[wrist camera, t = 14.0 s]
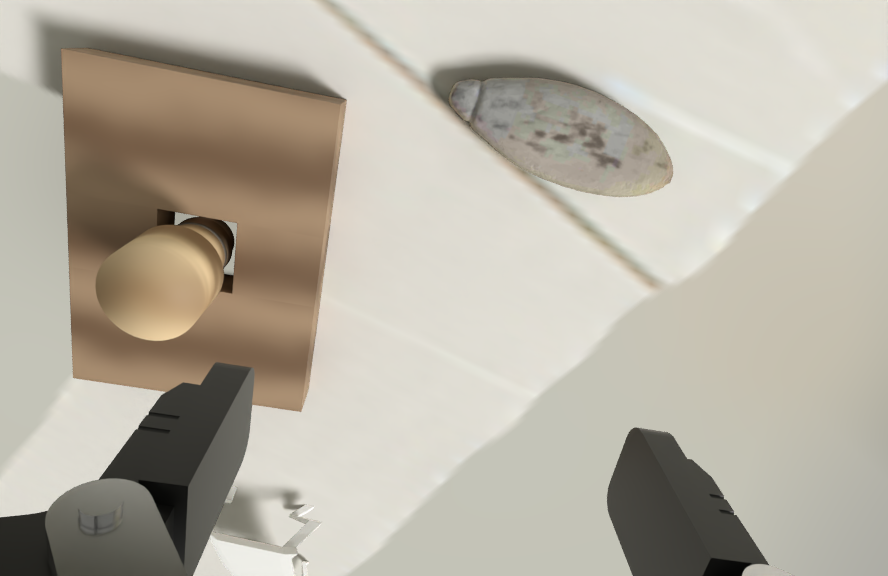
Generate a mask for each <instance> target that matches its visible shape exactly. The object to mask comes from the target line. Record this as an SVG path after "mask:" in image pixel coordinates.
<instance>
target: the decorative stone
mask: <svg viewBox="0 0 888 576" xmlns="http://www.w3.org/2000/svg"><path fill="white" fill-rule="evenodd" d="M448 100H449V103H450V106H451V107H452V108H453V109H454V110H455V111H456V113H457V114H458V115H459V116H460V117H461V118H462V119H464V120H465V121H469V122H470V124H471V128H472V129H473V130H475V131H476V132H477V133H478V134H479V135H480V136H481V137H483V138H484V139H485V140H486V141H487V142H488V143H489V144H490V145H491V146H492V147H493V148H494V149H495V150H497V151H498V152H499V153H501V154H502V155H503V156H504V157H506V158H507V159H508V160H510V161H511V162H512V163H514V164H515V165H517V166H518V167H520V168H521V169H524V170H526V171H528V172H530V173H532V174H534V175H536V176H538V177H540V178H542V179H545V180H547V181H550V182H553V183H556V184H559V185H561V186H564V187H568V188H571V189H575V190H577V191H582V192H586V193H592V194H597V195H604V196H613V197H632V196H640V195H645V194H648V193H652V192H654V191H656V190H659V189H661V188H663V187H664V186H665V185H666V184H668V183H670V181H671V178H672V176H673V165H672V162H671V159H670V157H669V155H668V152H667V150H666V148H665V147H664V145H663V143H662V142H661V140H660V138H659V136H658V135H657V134H656V133H655V132H654V131H653V130H652V129H651V128H650V127H649V126H648V125H647V124H646V123H645V122H644V121H643V120H641V119H640V118H639V117H638V116H637V115H635V114H634V113H632V112H631V111H629V110H628V109H626V108H625V107H623V106H621V105H620V104H618V103H616V102H615V101H613V100H611V99H609V98H607V97H605V96H603V95H601V94H599V93H597V92H594V91H591V90H588V89H586V88H583V87H581V86H577V85H574V84H570V83H566V82H560V81H556V80H550V79H541V78H490V79H487V80H485V81H479V80H476V79H468V80H464V81H459V82H457V83H456V84H454V86H453V87H452V90H451V92H450V95H449V99H448Z"/></svg>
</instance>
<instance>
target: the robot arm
mask: <svg viewBox="0 0 888 576" xmlns="http://www.w3.org/2000/svg"><path fill="white" fill-rule="evenodd" d="M254 377H255V373H254V368H252V367H246V366H239V365H233V364H226V363H220V362H216V363H215V364H214V365H213V366H212V368H211V369H210V371H209V372H208V374H207V375H206V377H205V379H204V380H203V382H202V383H201V385H198V384H191V383H184V382H183V383H181V384H179V385H178V386H176V387H174V388H173V389H171V390H169V391H168V392H166V393H164V394H163V395H161V397H160V398H159V399H158V401H157V402H156V403H155V405H154V406H153V407H152V409H151V410H150V411H149V415H146V417H145V418H144V419H143V421H142V422H141V423H140V425H139V428H138V430H137V429H136V430H135V431H134V433H133V434H132V436H131V437H130V438H129V440H128V441H127V442H126V444H125V445H124V446H123V448H122V449H121V450H120V452H119V453H118V454H117V456H116V457H115V458H114V460H113V461H112V462H111V464H110V465H109V466H108V468H107V469H106V470H105V472H104V473H103V475H102V476H101V477H100V479H99V480H95V481H91V482H87V483H84V484H81V485H79V486H77V487H74V488H72V489H71V490H69V491H67V492H66V493H64V494H63V495H61V496H60V497H59V498H58V499H57V500H56V501H55V502H54V503H53V504H52V505H51V507H50V508H49V510H48V511H45V512H41V513H35V514H29V515H20V516H10V517H0V576H193V574H194V572H195V569H196V567H197V565H198V562H199V560H200V558H201V556H202V553H203V551H204V549H205V546H206V544H207V542H208V539H209V537H210V535H211V533H212V530H213V528H214V526H215V523H216V521H217V519H218V516H219V514H220V512H221V510H222V507H223V505H224V503H225V500H226V498H227V496H228V493H229V491H230V489H231V487H232V484H233V482H234V480H235V477H236V475H237V473H238V470H239V468H240V466H241V463H242V461H243V458H244V455H245V451H246V447H247V443H248V438H249V431H250V421H251V410H252V399H253V388H254ZM607 505H608V512H609V515H610V518H611V520H612V523H613V526H614V528H615V531H616V534H617V536H618V539H619V541H620V544H621V546H622V549H623V552H624V554H625V557H626V559H627V562H628V564H629V567H630V570H631V572H632V575H633V576H793V575H792V574H790V573H788V572H786V571H784V570H782V569H779V568H777V567H773V566H770V565H769V564H768V563H767V561H766V560H765V558H764V556H763V555H762V553H761V552H760V550H759V549H758V547H757V546H756V544H755V543H754V541H753V540H752V538H751V537H750V535H749V533H748V532H747V531H746V529H745V528H744V526H743V524H742V523H741V521H740V520H739V518H738V517H737V515H734V511H733V509H732V508H731V506H730V505H729V503H728V502H727V500H724V495H723V494H722V493H721V491H720V489H719V488H718V486H717V485H716V484H715V482H714V480H713V479H712V477H711V476H710V475H708V474H707V473H706V472H705V471H704V470H703V469H702V468H700V466H698V465H697V464H696V463H695V462H694V461H693V460H690V459H687V458H686V457H685V455H684V453H683V452H682V450H681V448H680V447H679V445H678V444H677V442H676V440H675V439H674V437H673V436H672V435H671V434H670V433H668V432H661V431H655V430H648V429H642V428H633V429H632V430H631V431H630V432H629V434H628V436H627V438H626V441H625V444H624V446H623V449H622V452H621V454H620V457H619V459H618V462H617V465H616V468H615V470H614V473H613V476H612V478H611V481H610V484H609V488H608V494H607Z"/></svg>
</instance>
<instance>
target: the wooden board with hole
mask: <svg viewBox="0 0 888 576" xmlns="http://www.w3.org/2000/svg"><path fill="white" fill-rule="evenodd" d="M61 59H62V86H63V114H64V140H65V168H66V196H67V224H68V251H69V277H70V278H69V279H70V305H71V333H72V357H73V359H72V360H73V378H77V379H84V380H90V381H97V382H104V383H111V384H117V385H124V386H131V387H138V388H144V389H151V390H158V391H165V392H168V391H169V390H171V389H173V388H174V387H176V386H178V385H179V384H181V383H183V382H184V383H191V384H198V385H201V383H202V382H203V380H204V379H205V377H206V375H207V374H208V372H209V371H210V369H211V368H212V366H213V365H214V364H215V363H216V362H220V363H226V364H233V365H239V366H246V367H252V368H254V373H255V377H254V388H253V399H252V405H259V406H266V407H273V408H279V409H286V410H293V411H300V412H301V410H302V407H303V404H304V401H305V398H306V395H307V392H308V389H309V382H310V374H311V366H312V359H313V351H314V344H315V336H316V329H317V321H318V313H319V306H320V298H321V291H322V283H323V275H324V268H325V260H326V253H327V245H328V238H329V230H330V222H331V215H332V207H333V200H334V192H335V185H336V177H337V169H338V162H339V154H340V147H341V139H342V132H343V124H344V116H345V109H346V101H347V100H345V99H340V98H335V97H330V96H325V95H320V94H315V93H310V92H305V91H300V90H295V89H290V88H285V87H280V86H275V85H270V84H265V83H260V82H255V81H250V80H245V79H240V78H235V77H230V76H225V75H220V74H215V73H210V72H205V71H200V70H195V69H190V68H185V67H180V66H175V65H170V64H166V63H161V62H156V61H151V60H146V59H141V58H136V57H131V56H126V55H121V54H116V53H111V52H106V51H101V50H96V49H91V48H64V49H61ZM175 212H179V213H184V214H190V215H196V216H201V217H207V218H212V219H218V220H224V221H229V222H235V223H237V237H236V250H235V265H234V276H233V275H227V274H224V279H223V284H222V288H221V290H220V292H219V294H218V295H217V296H216V298H215V299H214V300H213V301H212V303H211V304H210V305H209V306H208V308H207V309H206V310H205V311H204V312H203V314H202V315H201V316H200V317H199V319H198V320H197V321H196V322H195V323H194V325H193V326H192V327H191V328H190V329H189V330H188V331H186V332H185V333H184V334H182V335H180V336H178V337H176V338H173V339H169V340H163V341H152V340H145V339H141V338H138V337H135V336H132V335H130V334H128V333H126V332H125V331H123V330H121V329H120V328H119V327H117V326H116V325H115V324H114V323H113V322H112V321H111V320H110V319H109V318H108V317H107V316H106V314H105V313H104V311H103V310H102V308H101V306H100V304H99V301H98V299H97V295H96V288H95V284H96V277H97V273H98V270H99V268H100V266H101V265H102V263H103V262H104V261H105V260H106V259H107V258H108V257H109V256H110V255H111V254H113V253H114V252H116V251H117V250H119V249H120V248H122V247H123V246H124V245H126V244H127V243H129V242H130V241H132V240H133V239H135V238H136V237H138V236H139V235H141V234H142V233H144V232H145V231H147V230H148V229H151V228H153V227H156V226H160V225H174V221H175Z"/></svg>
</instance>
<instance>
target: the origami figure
mask: <svg viewBox="0 0 888 576" xmlns="http://www.w3.org/2000/svg"><path fill="white" fill-rule="evenodd" d="M236 490H237V487H234V486H232V487H231V489H230V491H229V494H228V496H227V498H226V500H225V503H231V502H232V500H233V497H234V495H235V492H236ZM313 508H314V506H311V505H304V506H302V507H301V508H299V509H298V510H296V511H295V512H293V513H292V514H290V516H289V517H290V518H293V519H295V520H297V521H300V522H302V523H304V524H305V525H304V526H303V527H302V528H301V529H300V530H299V531H298V532H297V533H296V534H295V535H294V536H293V537H292V538H291V539H290V540H289V541H288V542H287V543H286V544H285V545H284V546H283V547H280V546H276V545H271V544H266V543H262V542H257V541H253V540H248V539H243V538H239V537H234V536H230V535H225V534H221V533H216V532H214V528H213V530H212V533H211V535H210V537H209V538H210V541H211V543H212V545H213V546H214V548H215V550H216V552H217V554H218V556H219V558H220V560H221V562H222V564H223V566H224V567H225V568H226V569H227V570H228V571H229V572H230V573H231V574H232V575H233V576H295V572H294V568H293V563H292V558H293V557H295V556H296V555H298V552H297V549H296V547H297V546H298V545H299V544H300V543H301V542H302V541H304V540H305V539H306V538H307V537H308V536H309V535H310V534H311V533H312V532H313V531H315V530H316V529H317V528H318V527H319V526H320V525H321V523H322V522H320V521H316V520H312V519H307V518H303V517H300V516H302V515H304V514H306V513H307V512H309V511H311V510H313ZM308 563H309V562H307V561H302V576H308V574H307V564H308Z"/></svg>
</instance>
